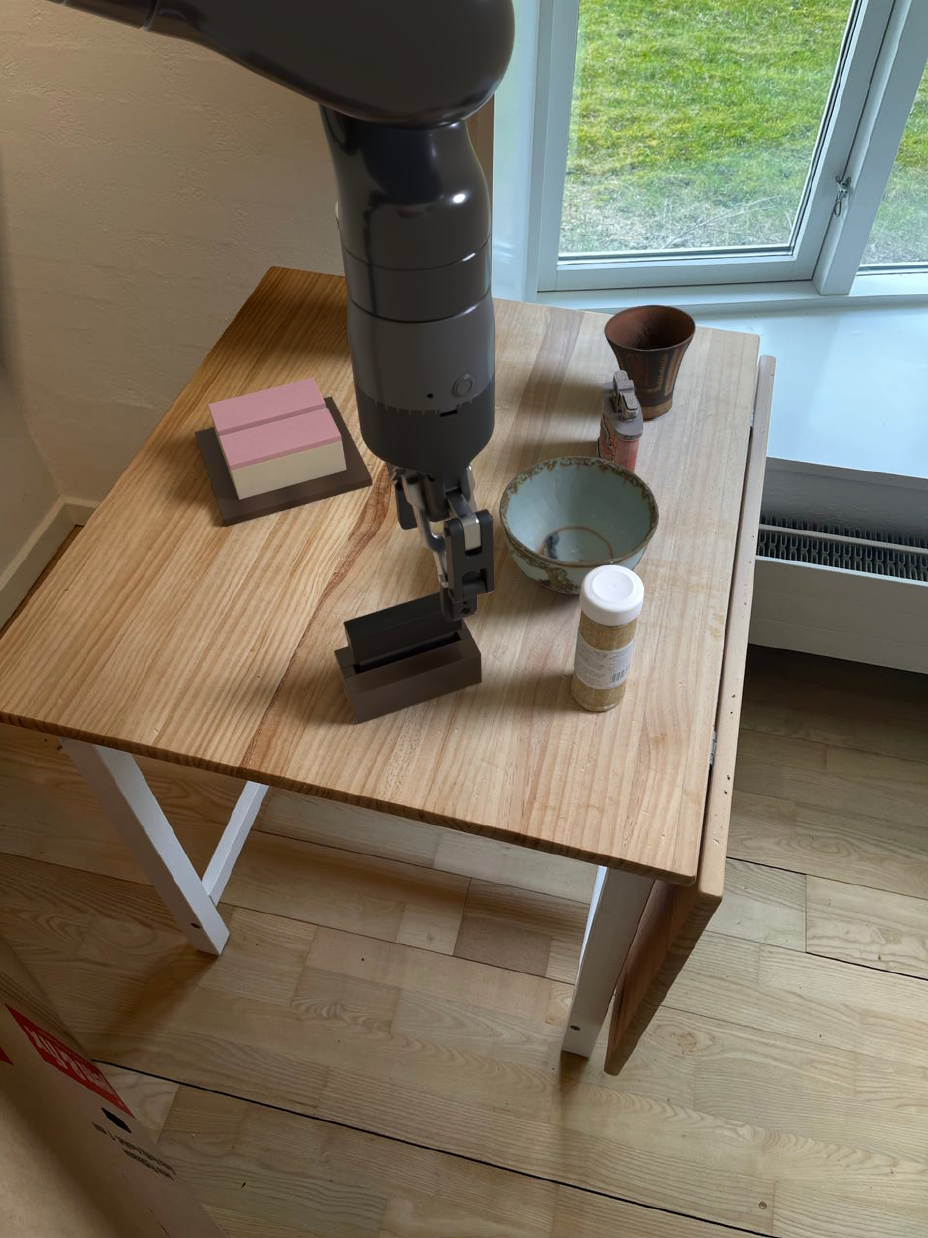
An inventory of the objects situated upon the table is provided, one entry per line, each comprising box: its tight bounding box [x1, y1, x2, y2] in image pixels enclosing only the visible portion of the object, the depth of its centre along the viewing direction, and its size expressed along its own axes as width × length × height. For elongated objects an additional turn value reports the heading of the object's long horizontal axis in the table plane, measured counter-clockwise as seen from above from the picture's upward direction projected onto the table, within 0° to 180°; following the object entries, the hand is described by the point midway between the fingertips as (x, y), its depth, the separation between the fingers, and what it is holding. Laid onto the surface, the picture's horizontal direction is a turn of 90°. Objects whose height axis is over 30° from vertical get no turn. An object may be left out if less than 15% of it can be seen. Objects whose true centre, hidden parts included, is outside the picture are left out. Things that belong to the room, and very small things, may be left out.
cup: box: [603, 304, 697, 419], centre depth 98 cm, size 9×9×10 cm
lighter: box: [595, 369, 644, 474], centre depth 92 cm, size 8×3×10 cm, turn 6°
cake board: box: [194, 395, 373, 527], centre depth 97 cm, size 15×14×1 cm
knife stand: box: [333, 618, 483, 725], centre depth 78 cm, size 11×5×4 cm, turn 112°
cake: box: [219, 408, 346, 500], centre depth 93 cm, size 11×4×4 cm, turn 112°
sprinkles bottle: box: [570, 565, 645, 712], centre depth 74 cm, size 5×5×13 cm
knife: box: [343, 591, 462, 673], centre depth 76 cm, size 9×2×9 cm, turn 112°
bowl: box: [498, 455, 660, 595], centre depth 84 cm, size 14×13×8 cm
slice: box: [207, 377, 326, 464], centre depth 97 cm, size 11×4×4 cm, turn 112°
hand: (436, 567), depth 62 cm, fingers open, 8 cm apart
